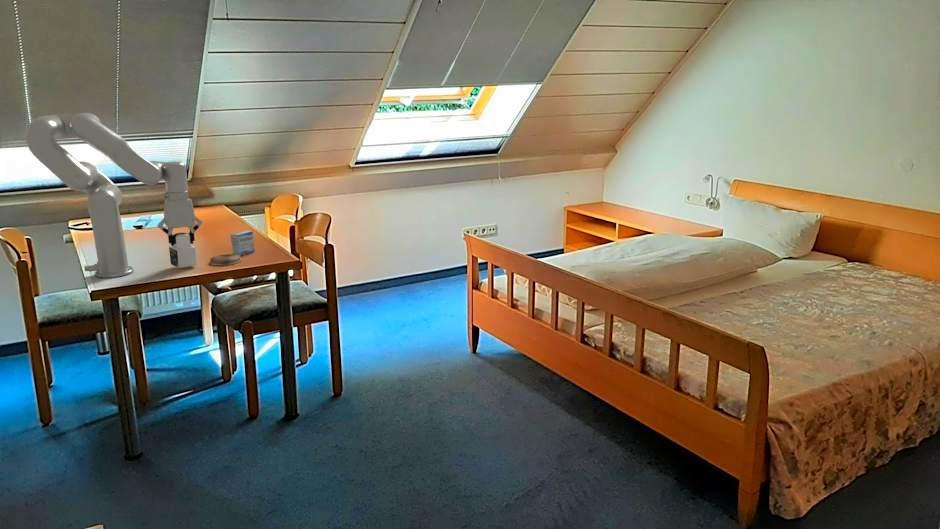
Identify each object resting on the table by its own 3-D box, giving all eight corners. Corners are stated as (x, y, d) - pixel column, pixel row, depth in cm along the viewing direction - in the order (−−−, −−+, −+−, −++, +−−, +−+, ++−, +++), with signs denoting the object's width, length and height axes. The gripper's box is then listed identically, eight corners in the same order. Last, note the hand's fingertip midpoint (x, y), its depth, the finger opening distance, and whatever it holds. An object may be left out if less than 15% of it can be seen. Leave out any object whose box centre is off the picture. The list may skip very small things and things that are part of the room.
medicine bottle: (170, 264, 260) (167, 233, 257) (189, 261, 265) (186, 230, 262) (178, 268, 255) (175, 236, 252) (197, 265, 260) (194, 233, 257)
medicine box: (240, 256, 275) (238, 235, 273) (232, 255, 277) (230, 233, 275) (255, 251, 282) (253, 231, 279) (247, 250, 284) (245, 230, 281)
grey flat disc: (213, 267, 260) (212, 263, 259) (207, 260, 269) (206, 256, 269) (244, 262, 266) (244, 258, 265) (237, 256, 275) (237, 252, 275)
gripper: (153, 199, 246) (158, 248, 251) (204, 195, 255) (208, 243, 259) (150, 196, 252) (155, 244, 257) (200, 192, 261) (204, 239, 265)
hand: (182, 243), depth 258 cm, fingers closed on medicine bottle, 6 cm apart
